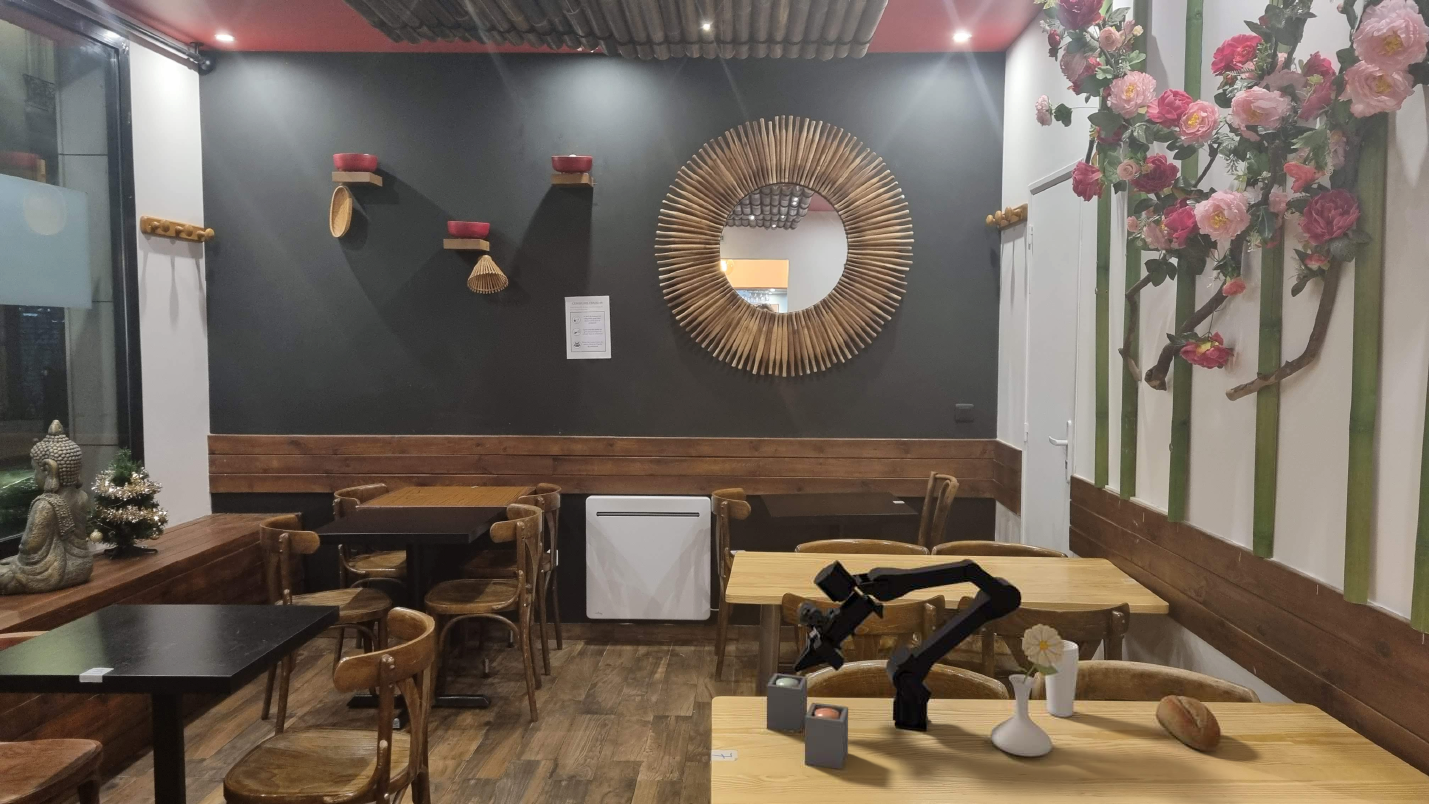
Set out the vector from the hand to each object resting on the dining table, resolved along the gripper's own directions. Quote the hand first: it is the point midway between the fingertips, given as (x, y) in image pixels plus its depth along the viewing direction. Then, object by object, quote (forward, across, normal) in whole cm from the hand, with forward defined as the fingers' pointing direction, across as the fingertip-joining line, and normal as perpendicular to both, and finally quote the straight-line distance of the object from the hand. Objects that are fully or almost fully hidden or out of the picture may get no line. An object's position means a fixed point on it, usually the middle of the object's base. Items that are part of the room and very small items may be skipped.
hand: (794, 669), depth 173 cm
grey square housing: (+5, +15, +11) cm, 19 cm away
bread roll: (-47, +7, +64) cm, 79 cm away
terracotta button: (+1, +15, +7) cm, 17 cm away
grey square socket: (+9, 0, +7) cm, 12 cm away
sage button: (+5, 0, +3) cm, 5 cm away
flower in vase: (-23, +12, +39) cm, 47 cm away
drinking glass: (-32, -5, +49) cm, 59 cm away
